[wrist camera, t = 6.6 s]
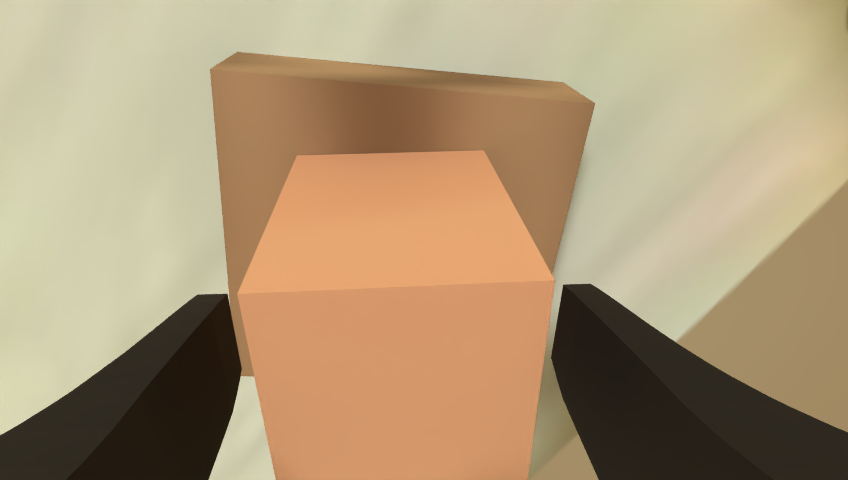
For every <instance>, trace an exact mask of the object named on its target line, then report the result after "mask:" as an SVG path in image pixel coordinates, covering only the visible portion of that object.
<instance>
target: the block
mask: <svg viewBox="0 0 848 480" xmlns="http://www.w3.org/2000/svg"><path fill="white" fill-rule="evenodd" d="M210 73H211V85H212V96H213V108H214V120H215V132H216V144H217V155H218V167H219V179H220V191H221V202H222V214H223V226H224V238H225V250H226V261H227V273H228V285H229V297H230V308H231V315H232V320H233V325H234V331H235V336H236V341H237V346H238V351H239V356H240V362H241V367H242V371H241V376H254V372H253V367H252V363H251V358H250V353H249V348H248V343H247V339H246V334H245V329H244V324H243V319H242V315H241V310H240V305H239V300H238V296H237V293H238V291H239V289H240V286H241V284H242V282H243V279H244V277H245V275H246V272H247V270H248V268H249V266H250V263H251V261H252V259H253V256H254V254H255V252H256V249H257V247H258V245H259V242H260V240H261V238H262V235H263V233H264V231H265V228H266V226H267V224H268V221H269V219H270V217H271V214H272V212H273V210H274V208H275V205H276V203H277V201H278V198H279V196H280V194H281V191H282V189H283V187H284V184H285V182H286V180H287V177H288V175H289V173H290V170H291V168H292V166H293V163H294V161H295V159H296V156H297V155H331V154H368V153H404V152H441V151H477V150H484V151H485V153H486V155H487V157H488V159H489V161H490V162H491V164H492V166H493V168H494V170H495V172H496V173H497V175H498V177H499V179H500V181H501V183H502V184H503V186H504V188H505V190H506V192H507V194H508V195H509V197H510V199H511V201H512V203H513V204H514V206H515V208H516V210H517V212H518V214H519V215H520V217H521V219H522V221H523V223H524V225H525V226H526V228H527V230H528V232H529V234H530V236H531V237H532V239H533V241H534V243H535V245H536V247H537V248H538V250H539V252H540V254H541V256H542V258H543V259H544V261H545V263H546V265H547V267H548V268H549V270H550V272H551V274H552V272H553V268H554V264H555V260H556V256H557V252H558V248H559V244H560V240H561V236H562V232H563V228H564V224H565V220H566V216H567V212H568V209H569V205H570V201H571V197H572V193H573V189H574V185H575V181H576V177H577V173H578V169H579V165H580V161H581V157H582V153H583V149H584V145H585V141H586V137H587V133H588V130H589V126H590V122H591V118H592V114H593V110H594V106H595V103H594V102H592V101H591V100H589V99H588V98H586V97H584V96H583V95H581V94H580V93H578V92H577V91H575V90H574V89H572V88H571V87H569V86H568V85H566V84H564V83H563V82H552V81H541V80H531V79H520V78H509V77H499V76H488V75H477V74H467V73H456V72H445V71H435V70H424V69H413V68H403V67H392V66H381V65H370V64H360V63H349V62H338V61H328V60H317V59H306V58H296V57H285V56H274V55H264V54H253V53H242V52H237V53H235V54H234V55H232V56H230V57H229V58H227V59H226V60H224V61H222V62H221V63H219V64H217V65H216V66H214V67H213V68H211V69H210Z"/></svg>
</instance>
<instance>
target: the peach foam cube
mask: <svg viewBox="0 0 848 480" xmlns="http://www.w3.org/2000/svg"><path fill="white" fill-rule="evenodd" d="M554 283H555V279H554V278H553V276H552V274H551V272H550V270H549V268H548V267H547V265H546V263H545V261H544V259H543V258H542V256H541V254H540V252H539V250H538V248H537V247H536V245H535V243H534V241H533V239H532V237H531V236H530V234H529V232H528V230H527V228H526V226H525V225H524V223H523V221H522V219H521V217H520V215H519V214H518V212H517V210H516V208H515V206H514V204H513V203H512V201H511V199H510V197H509V195H508V194H507V192H506V190H505V188H504V186H503V184H502V183H501V181H500V179H499V177H498V175H497V173H496V172H495V170H494V168H493V166H492V164H491V162H490V161H489V159H488V157H487V155H486V153H485V151H484V150H477V151H441V152H404V153H368V154H331V155H297V156H296V159H295V161H294V163H293V166H292V168H291V170H290V173H289V175H288V177H287V180H286V182H285V184H284V187H283V189H282V191H281V194H280V196H279V198H278V201H277V203H276V205H275V208H274V210H273V212H272V214H271V217H270V219H269V221H268V224H267V226H266V228H265V231H264V233H263V235H262V238H261V240H260V242H259V245H258V247H257V249H256V252H255V254H254V256H253V259H252V261H251V263H250V266H249V268H248V270H247V272H246V275H245V277H244V279H243V282H242V284H241V286H240V289H239V291H238V293H237V296H238V300H239V305H240V310H241V315H242V319H243V324H244V329H245V334H246V339H247V343H248V348H249V353H250V358H251V363H252V367H253V372H254V377H255V382H256V386H257V391H258V396H259V401H260V406H261V410H262V415H263V420H264V425H265V430H266V434H267V439H268V444H269V449H270V454H271V458H272V463H273V468H274V473H275V477H276V480H528V473H529V466H530V459H531V451H532V444H533V437H534V429H535V422H536V415H537V407H538V400H539V393H540V385H541V378H542V371H543V364H544V356H545V349H546V342H547V334H548V327H549V320H550V312H551V305H552V298H553V290H554Z"/></svg>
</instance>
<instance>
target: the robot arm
mask: <svg viewBox="0 0 848 480" xmlns="http://www.w3.org/2000/svg"><path fill="white" fill-rule="evenodd" d="M551 359H552V362H553V366H554V370H555V373H556V377H557V381H558V384H559V387H560V390H561V394H562V397H563V400H564V402H565V404H566V407H567V409H568V411H569V414H570V416H571V418H572V421H573V423H574V425H575V427H576V430H577V432H578V434H579V436H580V438H581V441H582V443H583V445H584V448H585V450H586V452H587V454H588V456H589V459H590V461H591V463H592V465H593V467H594V470H595V472H596V474H597V476H598V479H599V480H848V432H845V431H843V430H841V429H838V428H836V427H833V426H831V425H829V424H827V423H824V422H822V421H820V420H818V419H816V418H813V417H811V416H809V415H807V414H805V413H802V412H800V411H798V410H796V409H794V408H791V407H789V406H787V405H785V404H783V403H781V402H779V401H777V400H775V399H773V398H771V397H769V396H767V395H765V394H763V393H761V392H759V391H758V390H756V389H754V388H752V387H750V386H748V385H746V384H744V383H743V382H741V381H739V380H737V379H735V378H733V377H731V376H730V375H728V374H726V373H724V372H723V371H721V370H719V369H717V368H716V367H714V366H712V365H711V364H709V363H707V362H706V361H704V360H703V359H701V358H699V357H698V356H696V355H695V354H693V353H691V352H690V351H688V350H687V349H685V348H683V347H682V346H680V345H679V344H677V343H676V342H674V341H673V340H671V339H670V338H668V337H667V336H665V335H664V334H662V333H661V332H659V331H658V330H657V329H655V328H654V327H652V326H651V325H649V324H648V323H646V322H645V321H644V320H642V319H641V318H639V317H638V316H637V315H635V314H634V313H632V312H631V311H630V310H628V309H627V308H625V307H624V306H623V305H621V304H620V303H618V302H617V301H616V300H614V299H613V298H611V297H610V296H608V295H607V294H605V293H604V292H603V291H601V290H600V289H598V288H596V287H595V286H593V285H591V284H570V285H563V290H562V296H561V302H560V308H559V314H558V320H557V325H556V331H555V337H554V343H553V349H552V355H551ZM241 371H242V367H241V362H240V356H239V351H238V346H237V341H236V336H235V331H234V325H233V320H232V315H231V310H230V305H229V300H228V295H227V294H205V295H197V296H195V297H194V298H192V299H191V300H190V301H188V302H187V303H186V304H185V305H183V306H182V307H181V308H180V309H178V310H177V311H176V312H175V313H173V314H172V315H171V316H170V317H168V318H167V319H166V320H165V321H164V322H162V323H161V324H160V325H159V326H157V327H156V328H155V329H154V330H152V331H151V332H150V333H149V334H147V335H146V336H145V337H144V338H142V339H141V340H140V341H139V342H137V343H136V344H135V345H134V346H132V347H131V348H130V349H129V350H127V351H126V352H125V353H123V354H122V355H121V356H119V357H118V358H117V359H115V360H114V361H113V362H111V363H110V364H108V365H107V366H106V367H104V368H103V369H102V370H100V371H99V372H98V373H96V374H95V375H93V376H92V377H91V378H89V379H88V380H87V381H85V382H84V383H82V384H81V385H80V386H78V387H77V388H75V389H74V390H73V391H71V392H70V393H68V394H67V395H65V396H64V397H62V398H61V399H59V400H58V401H56V402H55V403H53V404H51V405H50V406H48V407H47V408H45V409H44V410H42V411H40V412H39V413H37V414H35V415H34V416H32V417H31V418H29V419H27V420H26V421H24V422H23V423H21V424H19V425H18V426H16V427H14V428H13V429H11V430H9V431H7V432H6V433H4V434H2V435H0V480H208V479H209V477H210V474H211V471H212V468H213V466H214V463H215V460H216V457H217V455H218V452H219V449H220V447H221V444H222V441H223V438H224V435H225V433H226V430H227V427H228V424H229V421H230V418H231V416H232V413H233V408H234V404H235V400H236V395H237V391H238V386H239V381H240V376H241Z"/></svg>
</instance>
